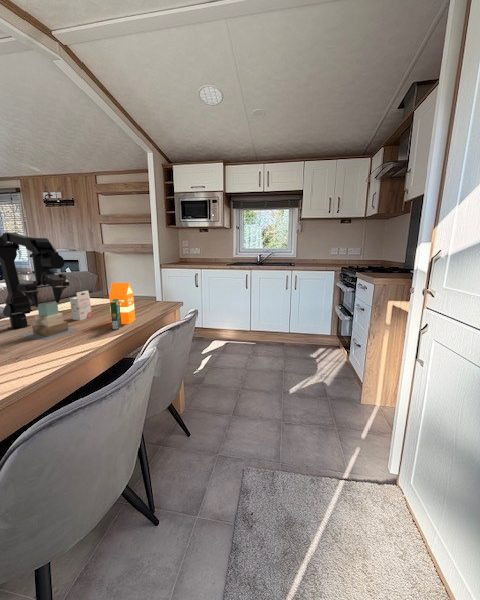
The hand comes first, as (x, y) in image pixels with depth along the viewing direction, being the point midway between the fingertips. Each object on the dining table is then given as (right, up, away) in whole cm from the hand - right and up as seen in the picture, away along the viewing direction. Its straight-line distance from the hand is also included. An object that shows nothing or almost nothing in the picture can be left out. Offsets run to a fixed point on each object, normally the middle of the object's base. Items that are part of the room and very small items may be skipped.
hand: (47, 304), depth 115 cm
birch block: (0, -8, +2) cm, 8 cm away
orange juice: (+24, -9, +21) cm, 33 cm away
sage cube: (0, -4, +1) cm, 4 cm away
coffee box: (+25, -11, +11) cm, 29 cm away
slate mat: (0, -13, +2) cm, 13 cm away
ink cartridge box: (-1, -8, +28) cm, 29 cm away
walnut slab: (0, -12, +2) cm, 12 cm away
